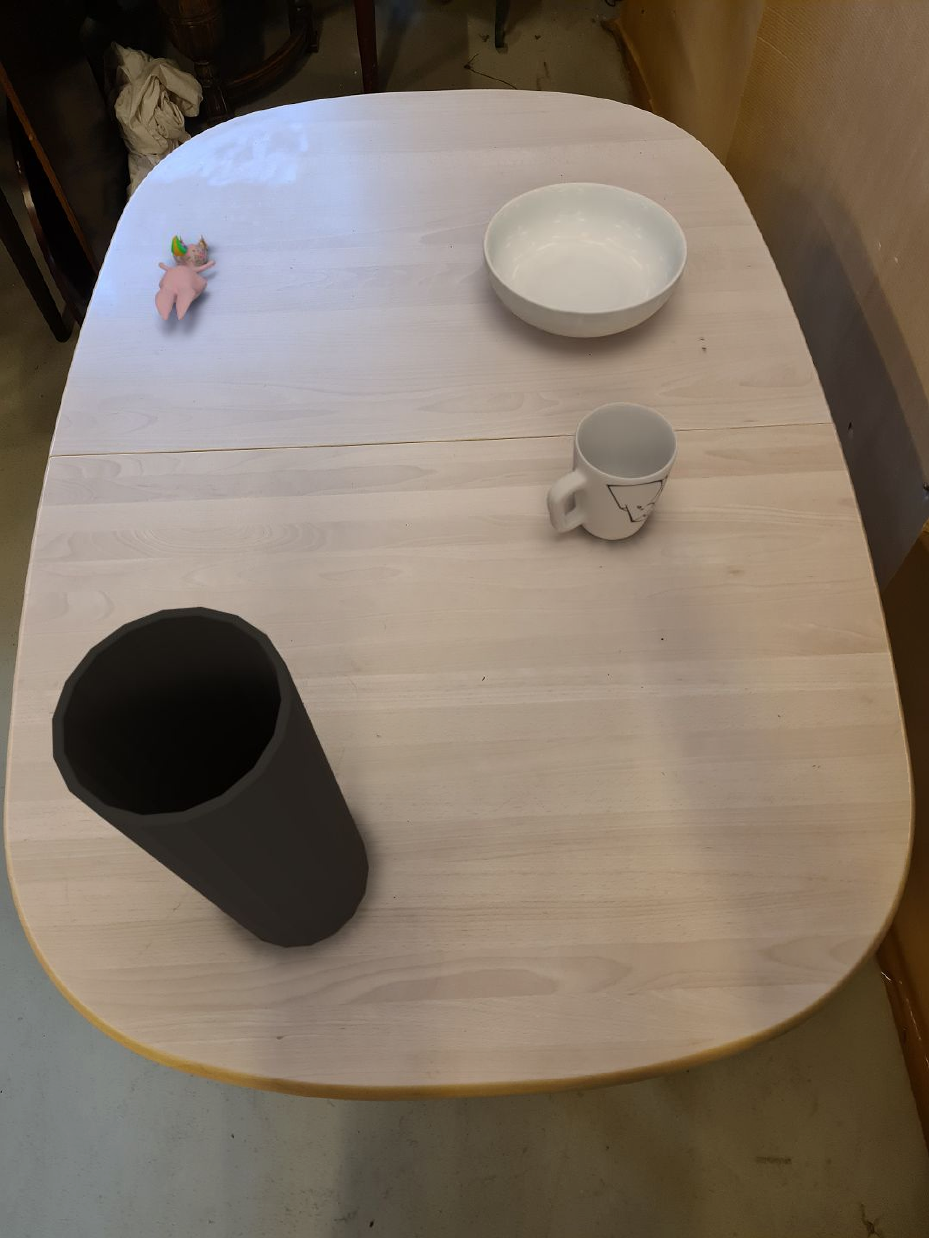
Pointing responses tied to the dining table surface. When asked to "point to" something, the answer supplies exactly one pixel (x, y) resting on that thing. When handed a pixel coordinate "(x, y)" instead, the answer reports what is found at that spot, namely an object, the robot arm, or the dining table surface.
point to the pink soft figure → (182, 278)
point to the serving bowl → (584, 258)
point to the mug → (615, 471)
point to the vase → (214, 770)
